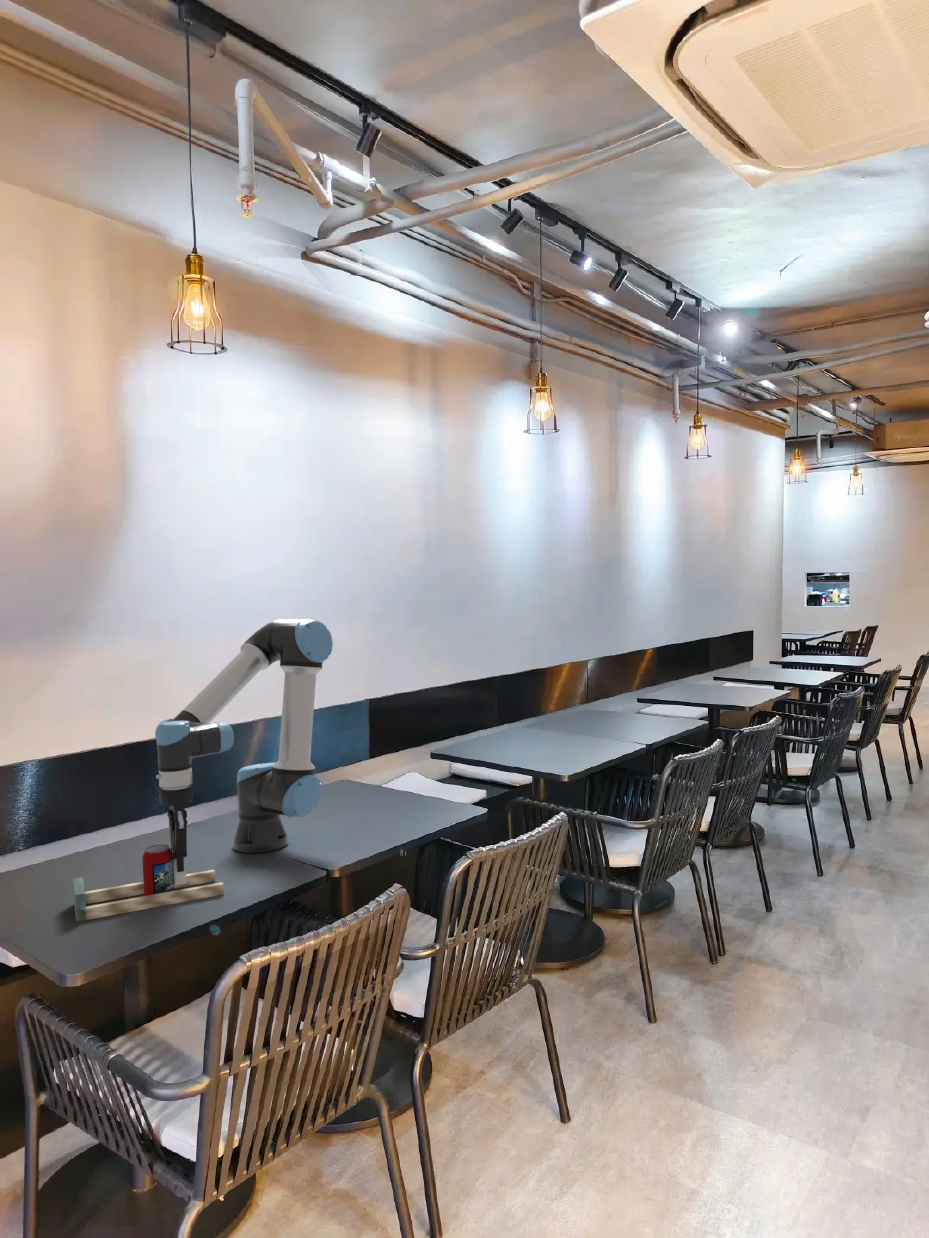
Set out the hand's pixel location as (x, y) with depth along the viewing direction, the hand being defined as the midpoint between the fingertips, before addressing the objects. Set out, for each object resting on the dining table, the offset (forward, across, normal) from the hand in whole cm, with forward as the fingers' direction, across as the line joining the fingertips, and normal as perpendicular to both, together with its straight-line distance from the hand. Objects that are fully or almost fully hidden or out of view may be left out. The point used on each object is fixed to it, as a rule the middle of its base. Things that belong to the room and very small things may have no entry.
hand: (180, 883), depth 200 cm
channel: (+3, 0, -7) cm, 7 cm away
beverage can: (+3, 0, -5) cm, 6 cm away
